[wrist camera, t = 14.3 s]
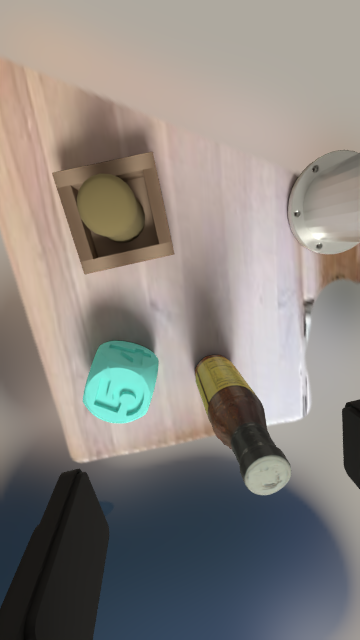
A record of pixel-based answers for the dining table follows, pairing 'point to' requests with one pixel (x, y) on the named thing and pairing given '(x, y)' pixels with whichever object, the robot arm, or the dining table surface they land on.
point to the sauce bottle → (241, 424)
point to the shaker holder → (146, 189)
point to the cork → (110, 208)
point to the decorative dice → (121, 382)
